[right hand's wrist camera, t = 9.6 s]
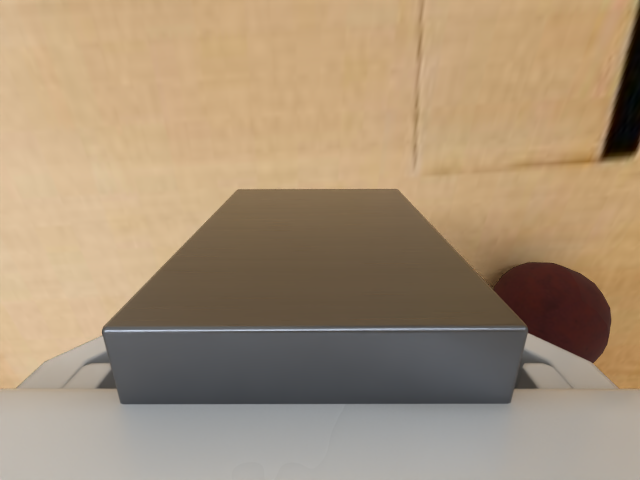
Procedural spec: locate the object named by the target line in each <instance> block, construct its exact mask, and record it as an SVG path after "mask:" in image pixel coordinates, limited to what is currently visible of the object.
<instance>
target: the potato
mask: <svg viewBox="0 0 640 480" xmlns="http://www.w3.org/2000/svg"><path fill="white" fill-rule="evenodd" d="M494 291H495V293H496V294H497V295H498V296H499V297H500V298H501V299H502V300H503V301H504V302H505V303H506V304H507V305H508V306H509V307H510V308H511V309H512V310H513V311H514V313H515V314H516V315H517V316H518V317H519V318H520V319H521V320H522V321H523V322H524V323H525V324H526V325H527V328H528V333H529V334H531V335H534V336H536V337H538V338H540V339H542V340H544V341H546V342H549V343H551V344H553V345H555V346H557V347H559V348H562V349H564V350H566V351H568V352H570V353H572V354H575V355H577V356H579V357H581V358H583V359H585V360H588V361H590V362H592V363H594V362H595V361H596V360H597V359H598V357H599V356H600V355H601V354H602V353H603V351H604V349H605V347H606V346H607V342H608V338H609V332H610V325H611V313H610V307H609V305H608V303H607V301H606V299H605V297H604V296H603V294H602V293H601V291H600V290H599V289H598V287H597V286H596V285H595V284H594V283H593V282H592V281H590V280H589V279H587V278H586V277H585V276H583V275H582V274H580V273H578V272H575V271H573V270H570V269H568V268H566V267H563V266H560V265H557V264H554V263H537V262H531V263H525V264H522V265H519V266H516V267H513V268H512V269H511V270H509V271H508V272H507V273H505V274H504V275H503V276H502V277H501V278H500V280H499V281H498V282H497V284H496V285H495V287H494Z"/></svg>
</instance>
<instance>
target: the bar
mask: <svg viewBox="0 0 640 480" xmlns="http://www.w3.org/2000/svg"><path fill="white" fill-rule="evenodd" d="M527 334H528V328H527V325H526V324H525V323H524V322H523V321H522V320H521V319H520V318H519V317H518V316H517V315H516V314H515V313H514V311H513V310H512V309H511V308H510V307H509V306H508V305H507V304H506V303H505V302H504V301H503V300H502V299H501V298H500V297H499V296H498V295H497V294H496V293H495V291H494V290H493V289H492V288H491V287H490V286H489V285H488V284H487V283H486V282H485V281H484V280H483V279H482V278H481V277H480V276H479V275H478V274H477V272H476V271H475V270H474V269H473V268H472V267H471V266H470V265H469V264H468V263H467V262H466V261H465V260H464V259H463V258H462V257H461V256H460V255H459V253H458V252H457V251H456V250H455V249H454V248H453V247H452V246H451V245H450V244H449V243H448V242H447V241H446V240H445V239H444V238H443V237H442V236H441V234H440V233H439V232H438V231H437V230H436V229H435V228H434V227H433V226H432V225H431V224H430V223H429V222H428V221H427V220H426V219H425V218H424V217H423V215H422V214H421V213H420V212H419V211H418V210H417V209H416V208H415V207H414V206H413V205H412V204H411V203H410V202H409V201H408V200H407V199H406V198H405V196H404V195H403V194H402V193H401V192H400V191H399V190H398V189H238V190H237V191H236V192H235V193H234V194H233V195H232V196H231V197H230V198H229V199H228V200H227V201H226V202H225V203H224V204H223V205H222V206H221V207H220V208H219V209H218V210H217V211H216V212H215V213H214V214H213V215H212V216H211V217H210V218H209V219H208V220H207V221H206V222H205V223H204V224H203V225H202V226H201V227H200V228H199V230H198V231H197V232H196V233H195V234H194V235H193V236H192V237H191V238H190V239H189V240H188V241H187V242H186V243H185V244H184V245H183V246H182V247H181V248H180V249H179V250H178V251H177V252H176V253H175V254H174V255H173V256H172V257H171V258H170V259H169V260H168V261H167V262H166V263H165V264H164V265H163V266H162V267H161V268H160V269H159V270H158V271H157V272H156V274H155V275H154V276H153V277H152V278H151V279H150V280H149V281H148V282H147V283H146V284H145V285H144V286H143V287H142V288H141V289H140V290H139V291H138V292H137V293H136V294H135V295H134V296H133V297H132V298H131V299H130V300H129V301H128V302H127V303H126V304H125V305H124V306H123V307H122V308H121V309H120V310H119V311H118V312H117V313H116V314H115V315H114V316H113V317H112V319H111V320H110V321H109V322H108V323H107V324H106V325H105V326H104V327H103V329H102V335H103V339H104V343H105V346H106V350H107V354H108V358H109V362H110V366H111V369H112V373H113V377H114V381H115V385H116V388H117V392H118V396H119V400H120V403H121V404H508V403H511V400H512V395H513V391H514V387H515V383H516V379H517V375H518V371H519V367H520V363H521V359H522V355H523V351H524V346H525V342H526V338H527Z"/></svg>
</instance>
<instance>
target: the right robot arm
mask: <svg viewBox="0 0 640 480" xmlns="http://www.w3.org/2000/svg"><path fill="white" fill-rule="evenodd" d="M0 480H640V389H619V388H618V387H617V386H616V385H615V384H614V383H613V382H612V381H611V380H610V379H608V378H607V377H606V376H605V375H604V374H603V373H602V372H601V371H600V370H599V369H598V368H597V367H596V366H595V365H594V364H593V363H592V362H590V361H588V360H585V359H583V358H581V357H579V356H577V355H575V354H572V353H570V352H568V351H566V350H564V349H562V348H559V347H557V346H555V345H553V344H551V343H549V342H546V341H544V340H542V339H540V338H538V337H536V336H534V335H531V334H529V333H528V334H527V338H526V342H525V346H524V351H523V355H522V359H521V363H520V367H519V371H518V375H517V379H516V383H515V387H514V391H513V395H512V400H511V403H508V404H121V403H120V400H119V396H118V392H117V388H116V385H115V381H114V377H113V373H112V369H111V366H110V362H109V358H108V354H107V350H106V346H105V343H104V339H103V335H102V336H100V337H98V338H95V339H93V340H91V341H89V342H87V343H85V344H82V345H80V346H78V347H76V348H74V349H71V350H69V351H67V352H65V353H63V354H60V355H58V356H56V357H54V358H52V359H49V360H47V361H45V362H44V363H43V364H42V365H40V366H39V367H38V368H37V369H36V370H35V371H34V372H33V373H32V374H31V375H30V376H29V377H28V378H26V379H25V380H24V381H23V382H22V383H21V384H20V385H19V386H18V387H17V388H16V389H0Z"/></svg>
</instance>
